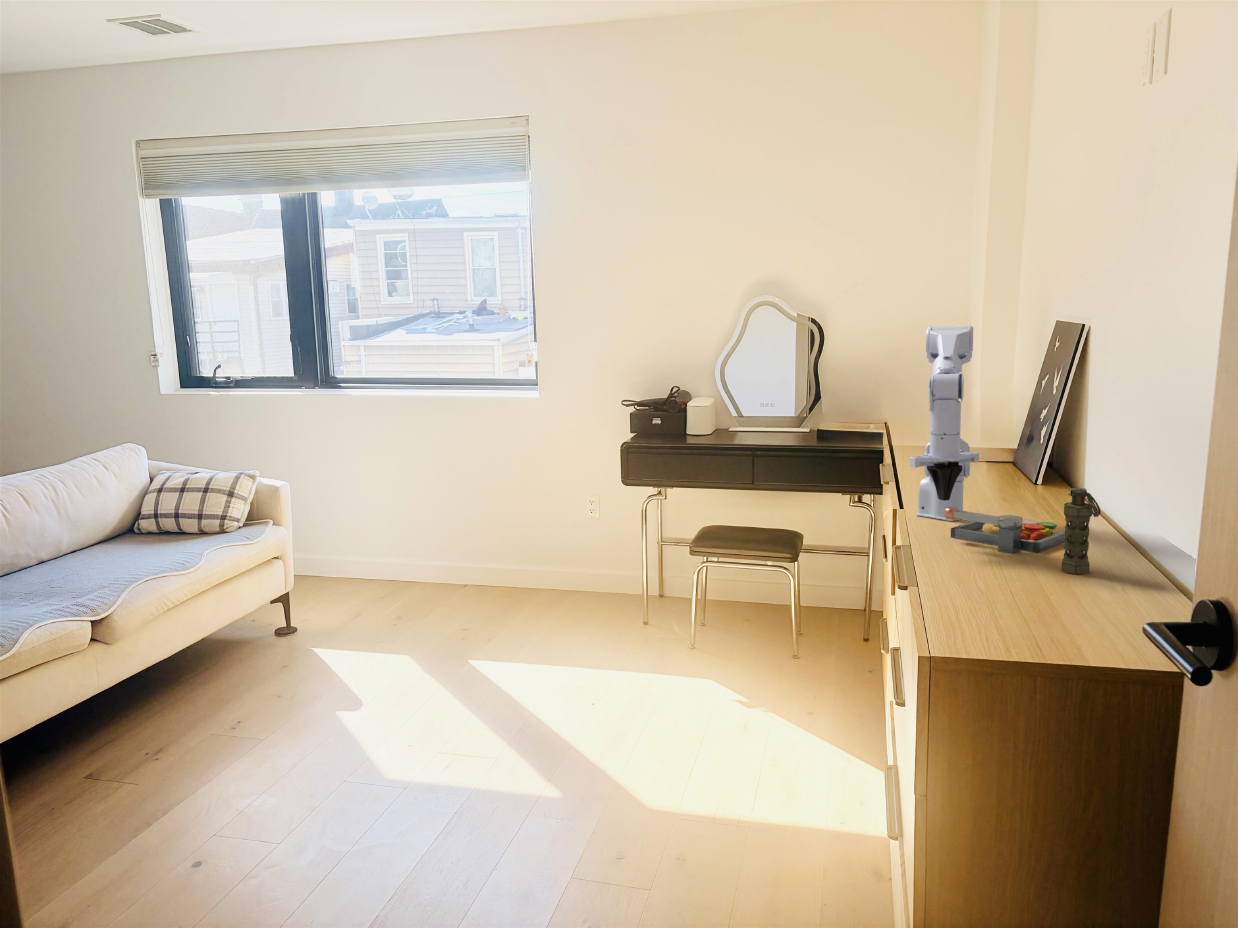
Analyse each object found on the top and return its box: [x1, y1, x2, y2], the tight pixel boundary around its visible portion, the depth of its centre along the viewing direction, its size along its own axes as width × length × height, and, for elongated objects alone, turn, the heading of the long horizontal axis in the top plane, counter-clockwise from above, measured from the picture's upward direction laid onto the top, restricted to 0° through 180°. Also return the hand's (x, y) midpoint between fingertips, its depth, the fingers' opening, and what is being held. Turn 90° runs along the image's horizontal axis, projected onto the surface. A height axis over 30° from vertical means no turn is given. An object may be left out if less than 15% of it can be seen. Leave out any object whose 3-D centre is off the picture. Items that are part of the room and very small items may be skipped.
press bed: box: [950, 521, 1069, 555], centre depth 177 cm, size 18×18×5 cm
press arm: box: [945, 507, 1024, 529], centre depth 173 cm, size 16×4×2 cm, turn 38°
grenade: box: [1061, 487, 1102, 575], centre depth 154 cm, size 9×6×15 cm, turn 153°
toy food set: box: [981, 518, 1058, 541], centre depth 179 cm, size 13×13×3 cm
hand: (943, 499), depth 175 cm, fingers closed
